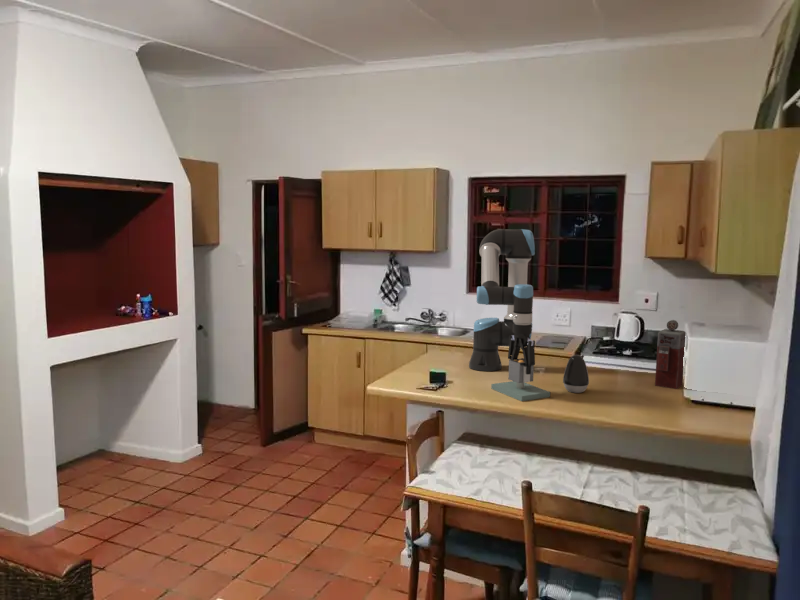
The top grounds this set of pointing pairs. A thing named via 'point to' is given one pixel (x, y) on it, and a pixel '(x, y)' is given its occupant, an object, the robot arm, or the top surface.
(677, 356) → the toy vending machine
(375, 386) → the top surface
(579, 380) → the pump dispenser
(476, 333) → the robot arm
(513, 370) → the grey square sleeve
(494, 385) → the keeper
